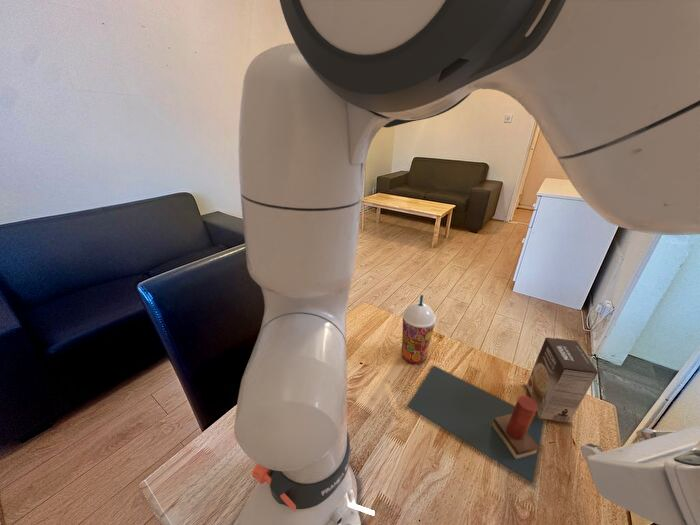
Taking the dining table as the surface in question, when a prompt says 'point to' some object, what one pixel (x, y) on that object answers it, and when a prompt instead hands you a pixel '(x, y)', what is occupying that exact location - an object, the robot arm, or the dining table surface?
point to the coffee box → (560, 379)
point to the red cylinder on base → (518, 428)
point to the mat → (472, 418)
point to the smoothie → (417, 331)
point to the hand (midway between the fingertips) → (614, 443)
